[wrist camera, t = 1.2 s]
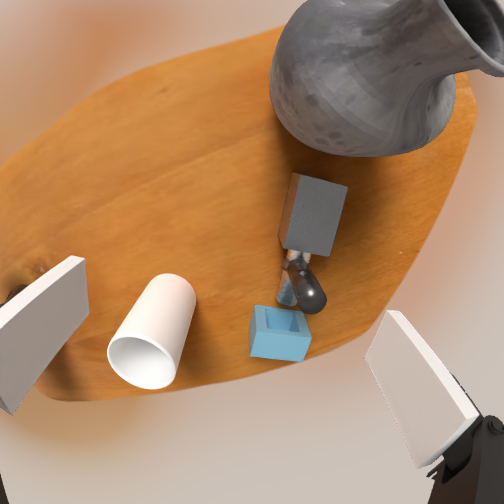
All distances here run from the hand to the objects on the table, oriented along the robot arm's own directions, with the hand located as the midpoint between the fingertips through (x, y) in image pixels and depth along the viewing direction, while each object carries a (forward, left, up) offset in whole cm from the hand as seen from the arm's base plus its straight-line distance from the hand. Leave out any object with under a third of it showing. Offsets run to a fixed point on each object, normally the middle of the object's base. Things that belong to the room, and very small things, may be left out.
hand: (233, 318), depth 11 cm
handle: (+9, -3, -27) cm, 29 cm away
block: (+9, +1, -28) cm, 29 cm away
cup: (-8, -16, -28) cm, 34 cm away
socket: (+9, -17, -28) cm, 34 cm away
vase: (+8, +17, -28) cm, 34 cm away
